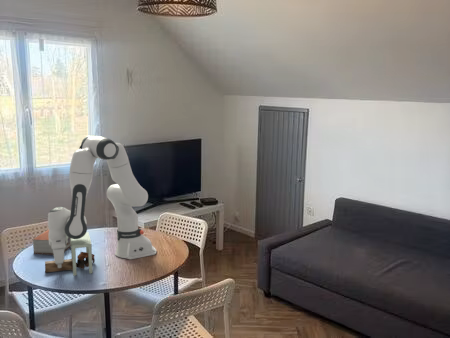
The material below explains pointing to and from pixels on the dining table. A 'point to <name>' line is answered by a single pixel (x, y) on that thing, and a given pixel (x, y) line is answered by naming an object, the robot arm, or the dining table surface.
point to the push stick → (52, 267)
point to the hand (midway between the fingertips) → (59, 265)
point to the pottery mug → (81, 262)
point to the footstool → (81, 243)
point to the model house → (45, 244)
